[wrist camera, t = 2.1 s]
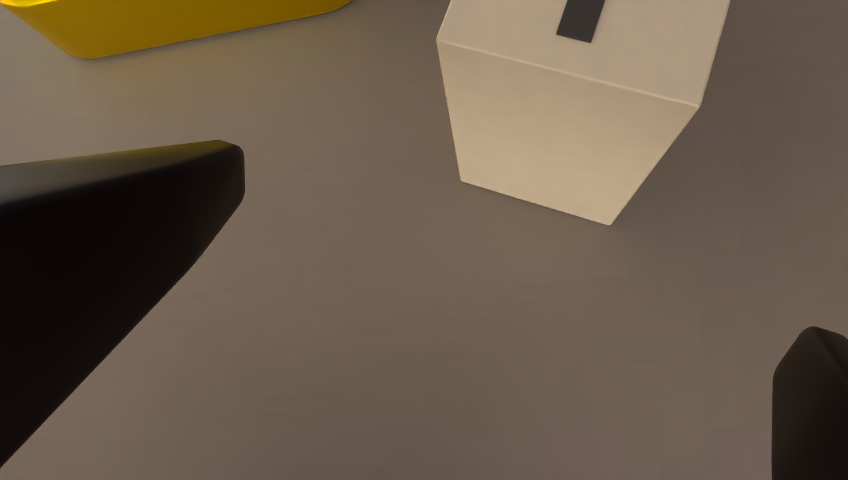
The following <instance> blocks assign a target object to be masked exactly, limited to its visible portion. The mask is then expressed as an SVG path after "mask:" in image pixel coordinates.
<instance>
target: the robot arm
mask: <svg viewBox="0 0 848 480" xmlns="http://www.w3.org/2000/svg"><path fill="white" fill-rule="evenodd" d="M244 193H245V169H244V153H243V150H242V149H241V148H240V147H239V146H237V145H234V144H231V143H228V142H225V141H222V140H213V141H204V142H196V143H188V144H179V145H171V146H163V147H154V148H146V149H138V150H129V151H121V152H113V153H104V154H96V155H88V156H79V157H71V158H63V159H54V160H46V161H38V162H29V163H21V164H12V165H4V166H0V468H1V467H2V466H3V465H4V464H5V463H6V462H7V460H8V459H9V458H10V457H11V456H12V455H13V454H14V453H15V452H16V451H17V450H18V449H19V448H20V447H21V446H22V445H23V444H24V443H25V442H26V441H27V439H28V438H29V437H30V436H31V435H32V434H33V433H34V432H35V431H36V430H37V429H38V428H39V427H40V426H41V425H42V424H43V423H44V422H45V421H46V420H47V418H48V417H49V416H50V415H51V414H52V413H53V412H54V411H55V410H56V409H57V408H58V407H59V406H60V405H61V404H62V403H63V402H64V401H65V400H66V399H67V397H68V396H69V395H70V394H71V393H72V392H73V391H74V390H75V389H76V388H77V387H78V386H79V385H80V384H81V383H82V382H83V381H84V380H85V379H86V378H87V377H88V375H89V374H90V373H91V372H92V371H93V370H94V369H95V368H96V367H97V366H98V365H99V364H100V363H101V362H102V361H103V360H104V359H105V358H106V357H107V356H108V354H109V353H110V352H111V351H112V350H113V349H114V348H115V347H116V346H117V345H118V344H119V343H120V342H121V341H122V340H123V339H124V338H125V337H126V336H127V335H128V333H129V332H130V331H131V330H132V329H133V328H134V327H135V326H136V325H137V324H138V323H139V322H140V321H141V320H142V319H143V318H144V317H145V316H146V315H147V314H148V312H149V311H150V310H151V309H152V308H153V307H154V306H155V305H156V304H157V303H158V302H159V301H160V300H161V299H162V298H163V297H164V296H165V295H166V294H167V293H168V292H169V290H170V289H171V288H172V287H173V286H174V285H175V284H176V283H177V282H178V281H179V280H180V279H181V278H182V277H183V276H184V275H185V274H186V272H187V271H188V270H189V269H190V268H191V267H192V266H193V265H194V263H195V262H196V261H197V260H198V259H199V257H200V256H201V255H202V254H203V252H204V251H205V250H206V248H207V247H208V246H209V244H210V243H211V242H212V240H213V239H214V238H215V236H216V235H217V234H218V233H219V231H220V230H221V229H222V227H223V226H224V225H225V223H226V222H227V221H228V219H229V218H230V217H231V215H232V214H233V213H234V211H235V210H236V209H237V207H238V206H239V205H240V203H241V202H242V199H243V197H244ZM772 480H848V339H847V338H846V337H844V336H843V335H840V334H838V333H835V332H832V331H828V330H825V329H822V328H819V327H814V326H812V327H808V328H806V329H805V330H803V331H802V332H801V334H800V335H799V336H798V338H797V339H796V341H795V342H794V343H793V345H792V346H791V348H790V349H789V350H788V352H787V353H786V355H785V356H784V357H783V359H782V360H781V362H780V363H779V364H778V366H777V368H776V370H775V373H774V377H773V394H772Z"/></svg>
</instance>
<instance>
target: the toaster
mask: <svg viewBox="0 0 848 480" xmlns="http://www.w3.org/2000/svg"><path fill="white" fill-rule="evenodd" d="M730 1H731V0H451V2H450V4H449V7H448V10H447V12H446V15H445V17H444V20H443V23H442V25H441V28H440V30H439V33H438V36H437V38H436V42H437V48H438V53H439V59H440V65H441V70H442V76H443V82H444V87H445V93H446V99H447V104H448V110H449V116H450V121H451V127H452V133H453V138H454V144H455V150H456V156H457V161H458V167H459V173H460V178H461V181H462V182H466V183H469V184H472V185H476V186H479V187H482V188H486V189H489V190H492V191H496V192H499V193H502V194H506V195H509V196H512V197H516V198H519V199H522V200H526V201H529V202H532V203H536V204H539V205H542V206H545V207H549V208H552V209H555V210H559V211H562V212H565V213H569V214H572V215H575V216H579V217H582V218H585V219H589V220H592V221H595V222H599V223H602V224H605V225H611V224H612V222H613V221H614V220H615V219H616V217H617V216H618V215H619V213H620V212H621V211H622V209H623V208H624V207H625V205H626V204H627V203H628V201H629V200H630V199H631V197H632V196H633V195H634V193H635V192H636V191H637V189H638V188H639V187H640V186H641V184H642V183H643V182H644V180H645V179H646V178H647V176H648V175H649V174H650V172H651V171H652V170H653V168H654V167H655V166H656V164H657V163H658V162H659V160H660V159H661V158H662V156H663V155H664V154H665V153H666V151H667V150H668V149H669V147H670V146H671V145H672V143H673V142H674V141H675V139H676V138H677V137H678V135H679V134H680V133H681V131H682V130H683V129H684V127H685V126H686V125H687V123H688V122H689V121H690V120H691V118H692V117H693V116H694V114H695V113H696V112H697V110H698V109H699V108H700V106H701V103H702V100H703V96H704V93H705V89H706V86H707V82H708V79H709V75H710V71H711V68H712V64H713V61H714V57H715V54H716V50H717V47H718V43H719V40H720V36H721V33H722V29H723V26H724V22H725V19H726V15H727V12H728V8H729V5H730Z"/></svg>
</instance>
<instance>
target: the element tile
mask: <svg viewBox="0 0 848 480" xmlns="http://www.w3.org/2000/svg"><path fill="white" fill-rule="evenodd" d="M351 1H352V0H0V4H2V5H3V6H4V7H6V8H7V9H8V10H10V11H11V12H12V13H13V14H15V15H16V16H17V17H19V18H20V19H21V20H23V21H24V22H25V23H27V24H28V25H29V26H31V27H32V28H33V29H35V30H36V31H37V32H39V33H40V34H41V35H43V36H44V37H45V38H47V39H48V40H49V41H51V42H52V43H53V44H55V45H56V46H57V47H59V48H60V49H61V50H63V51H64V52H65V53H67V54H68V55H71V56H76V57H81V58H85V59H96V58H102V57H107V56H112V55H117V54H122V53H127V52H132V51H137V50H142V49H147V48H152V47H157V46H163V45H168V44H173V43H178V42H183V41H188V40H193V39H198V38H203V37H208V36H213V35H218V34H224V33H229V32H234V31H239V30H244V29H249V28H254V27H259V26H264V25H269V24H274V23H279V22H285V21H290V20H295V19H300V18H305V17H310V16H315V15H320V14H325V13H328V12H331V11H334V10H337V9H339V8H341V7H342V6H344V5H346V4H347V3H349V2H351Z"/></svg>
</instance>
